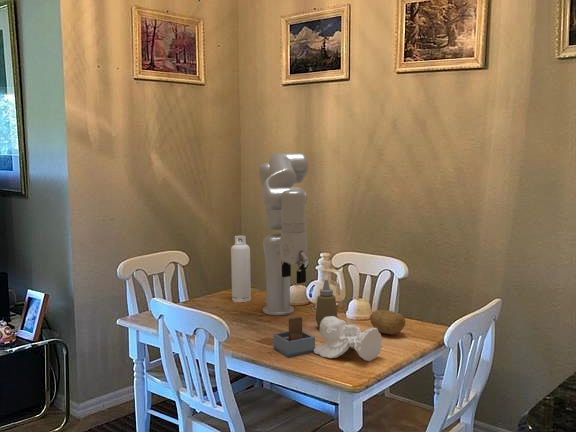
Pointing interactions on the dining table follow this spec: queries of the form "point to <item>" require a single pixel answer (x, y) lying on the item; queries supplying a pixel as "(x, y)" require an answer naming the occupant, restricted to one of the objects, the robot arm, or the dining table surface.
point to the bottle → (240, 270)
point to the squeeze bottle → (325, 304)
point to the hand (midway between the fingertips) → (293, 279)
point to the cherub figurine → (347, 339)
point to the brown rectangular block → (295, 328)
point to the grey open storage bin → (293, 344)
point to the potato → (387, 321)
